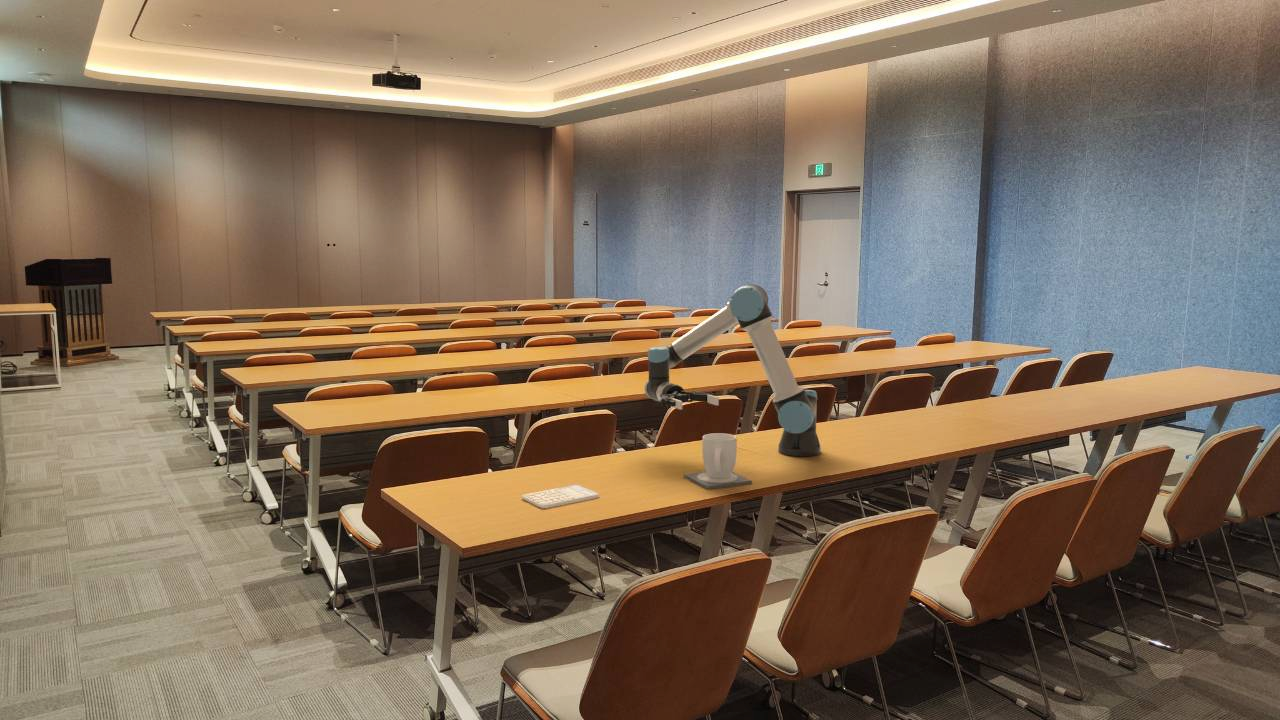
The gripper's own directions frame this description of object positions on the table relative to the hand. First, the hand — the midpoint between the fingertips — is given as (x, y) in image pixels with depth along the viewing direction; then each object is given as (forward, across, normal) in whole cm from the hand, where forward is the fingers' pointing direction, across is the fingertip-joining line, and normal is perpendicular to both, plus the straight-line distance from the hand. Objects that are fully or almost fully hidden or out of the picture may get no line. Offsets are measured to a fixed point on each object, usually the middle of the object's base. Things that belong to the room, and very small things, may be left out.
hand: (699, 403), depth 284 cm
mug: (+11, 0, -23) cm, 25 cm away
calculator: (+8, +52, -23) cm, 57 cm away
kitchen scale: (+11, 0, -24) cm, 26 cm away
